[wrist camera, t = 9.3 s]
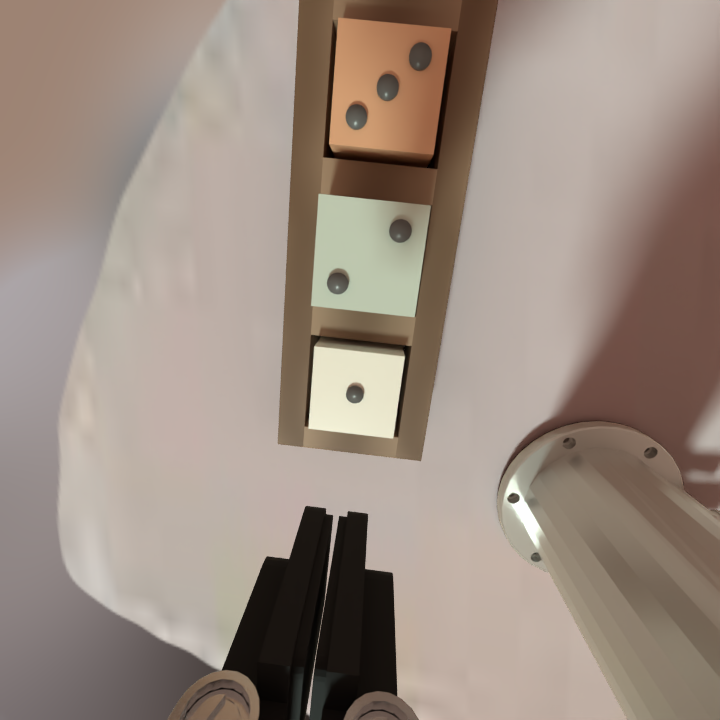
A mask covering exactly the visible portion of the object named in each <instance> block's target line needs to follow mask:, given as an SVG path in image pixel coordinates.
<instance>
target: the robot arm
mask: <svg viewBox="0 0 720 720" xmlns="http://www.w3.org/2000/svg"><path fill="white" fill-rule="evenodd" d="M497 510H498V517H499V521H500V524H501V526H502V529H503V531H504V534H505V536H506V537H507V539H508V541H509V543H510V545H511V546H512V547H513V549H514V550H515V551H516V552H517V553H518V554H519V555H520V556H521V557H522V558H523V559H524V560H526V561H527V562H528V563H530V564H531V565H533V566H535V567H537V568H539V569H541V570H543V571H545V572H549V574H550V576H551V577H552V579H553V581H554V583H555V585H556V587H557V589H558V591H559V592H560V594H561V596H562V598H563V600H564V602H565V604H566V606H567V607H568V609H569V611H570V613H571V615H572V617H573V619H574V621H575V623H576V624H577V626H578V628H579V630H580V632H581V634H582V636H583V638H584V639H585V641H586V643H587V645H588V647H589V649H590V651H591V653H592V654H593V656H594V658H595V660H596V662H597V664H598V666H599V668H600V669H601V671H602V673H603V675H604V677H605V679H606V681H607V683H608V684H609V686H610V688H611V690H612V692H613V694H614V696H615V698H616V699H617V701H618V703H619V705H620V707H621V709H622V711H623V713H624V715H625V716H626V718H627V720H720V511H719V510H708V509H707V508H706V507H704V506H703V505H702V504H701V503H699V502H698V501H697V500H695V499H694V498H693V497H692V496H690V495H689V494H688V493H686V492H685V491H684V490H683V481H682V477H681V474H680V470H679V468H678V467H677V465H676V463H675V461H674V459H673V457H672V456H671V455H670V454H669V453H668V452H667V451H666V450H665V449H664V448H663V447H662V446H661V445H660V444H658V443H657V442H656V441H654V440H653V439H651V438H650V437H649V436H647V435H645V434H643V433H642V432H640V431H638V430H636V429H634V428H631V427H628V426H625V425H622V424H618V423H612V422H603V421H593V422H580V423H576V424H571V425H567V426H563V427H560V428H558V429H555V430H553V431H550V432H548V433H546V434H544V435H543V436H541V437H539V438H538V439H536V440H534V441H533V442H531V443H530V444H529V445H528V446H527V447H526V448H525V449H523V450H522V451H521V452H520V453H519V454H518V455H517V456H516V458H515V459H514V460H513V461H512V463H511V464H510V465H509V467H508V469H507V471H506V472H505V474H504V476H503V478H502V481H501V484H500V487H499V491H498V498H497ZM332 522H333V515H327V514H326V508H318V507H310V506H306V507H305V509H304V513H303V516H302V519H301V522H300V526H299V529H298V532H297V536H296V539H295V542H294V545H293V549H292V552H291V555H290V558H289V559H283V558H275V557H268V556H267V557H266V559H265V561H264V563H263V565H262V568H261V570H260V573H259V576H258V578H257V581H256V583H255V586H254V588H253V591H252V594H251V596H250V599H249V601H248V604H247V607H246V609H245V612H244V614H243V617H242V619H241V622H240V625H239V627H238V630H237V632H236V635H235V638H234V640H233V643H232V645H231V648H230V651H229V653H228V656H227V658H226V661H225V663H224V666H223V669H222V671H218V672H213V673H211V674H209V675H207V676H205V677H203V678H201V679H199V680H198V681H197V682H195V683H194V684H193V685H192V686H191V687H190V688H188V689H187V690H186V692H185V693H184V694H183V696H182V697H181V698H180V700H179V701H178V702H177V704H176V706H175V707H174V709H173V711H172V712H171V714H170V716H169V717H168V719H167V720H305V716H306V710H307V704H308V698H309V692H310V686H311V680H312V674H313V668H314V662H315V656H316V662H315V669H314V678H313V687H312V698H311V708H310V719H309V720H419V719H418V718H417V716H416V714H415V713H414V711H413V710H412V708H411V707H410V706H408V705H407V704H406V703H405V702H404V701H403V700H402V699H401V698H399V697H397V674H396V645H395V617H394V588H393V574H392V573H390V572H382V571H375V570H367V569H365V559H366V541H367V523H368V514H366V513H358V512H350V511H348V515H347V517H343V516H339V521H338V527H337V533H336V539H335V545H334V551H333V557H332V563H331V569H330V576H329V582H328V588H327V594H326V600H325V592H326V582H327V572H328V562H329V552H330V542H331V532H332ZM324 600H325V606H324ZM323 608H324V612H323ZM322 614H323V618H322ZM321 620H322V624H321ZM320 626H321V630H320ZM319 632H320V636H319ZM318 638H319V643H318ZM317 644H318V649H317ZM316 650H317V655H316Z"/></svg>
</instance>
